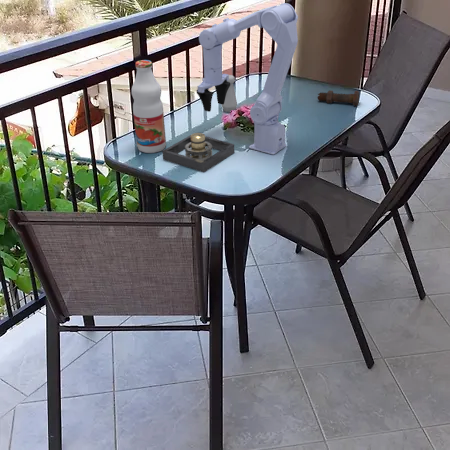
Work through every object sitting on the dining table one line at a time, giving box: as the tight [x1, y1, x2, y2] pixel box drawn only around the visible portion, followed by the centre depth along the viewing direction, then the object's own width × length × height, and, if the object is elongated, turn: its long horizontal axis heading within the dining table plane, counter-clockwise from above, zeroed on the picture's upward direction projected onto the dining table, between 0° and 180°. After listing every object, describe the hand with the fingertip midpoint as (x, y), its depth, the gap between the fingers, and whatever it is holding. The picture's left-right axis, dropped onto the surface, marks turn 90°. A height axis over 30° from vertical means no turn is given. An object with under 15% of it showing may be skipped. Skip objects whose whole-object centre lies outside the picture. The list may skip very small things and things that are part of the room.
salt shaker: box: [220, 74, 238, 113], centre depth 214 cm, size 6×6×13 cm
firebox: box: [161, 134, 235, 173], centre depth 185 cm, size 16×16×3 cm
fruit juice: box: [131, 59, 167, 154], centre depth 184 cm, size 9×9×28 cm
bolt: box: [317, 90, 360, 107], centre depth 221 cm, size 6×5×15 cm
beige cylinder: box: [190, 132, 207, 157], centre depth 184 cm, size 5×5×7 cm
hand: (214, 107), depth 195 cm, fingers open, 7 cm apart
